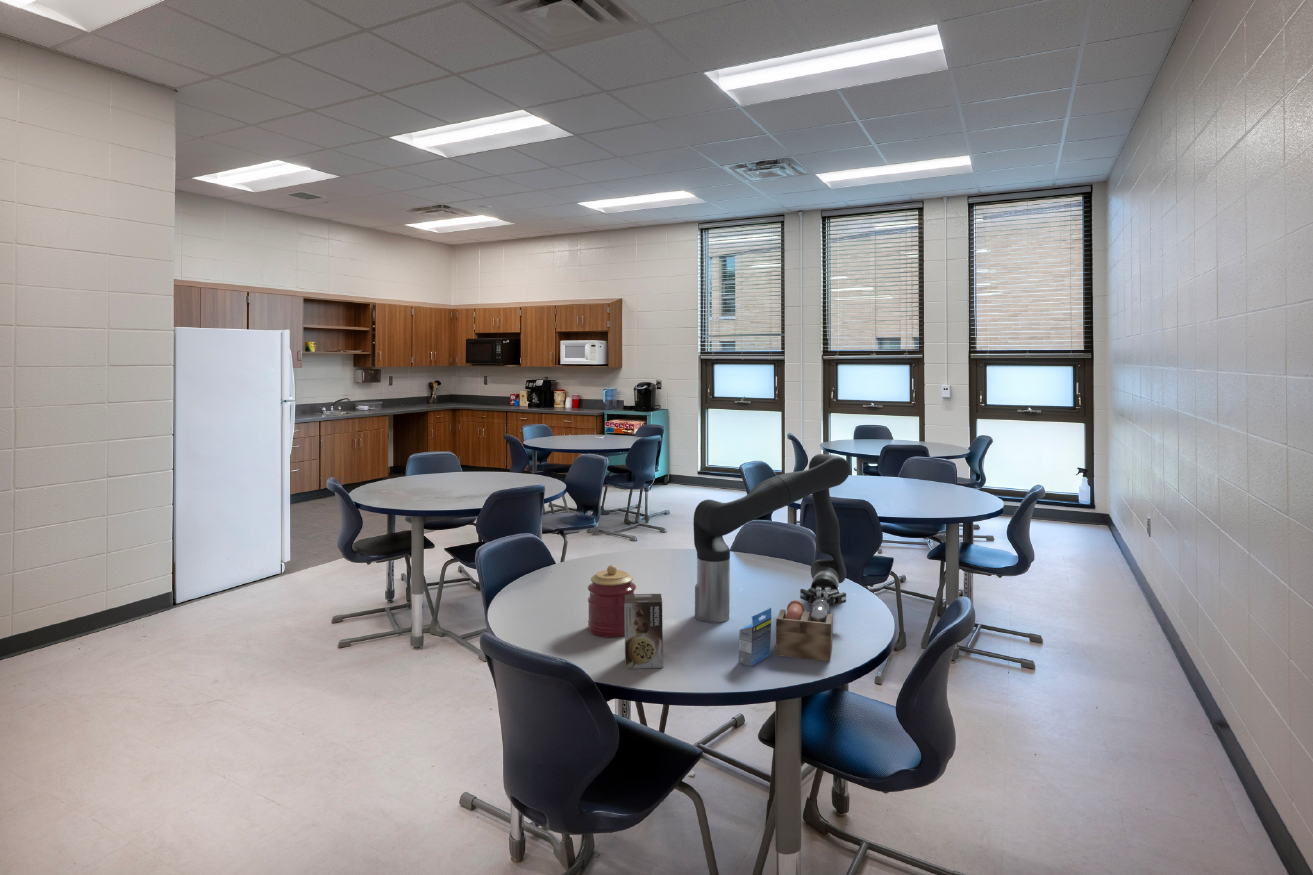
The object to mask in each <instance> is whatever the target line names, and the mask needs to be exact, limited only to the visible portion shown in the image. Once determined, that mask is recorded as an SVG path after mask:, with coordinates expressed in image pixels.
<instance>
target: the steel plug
mask: <svg viewBox="0 0 1313 875" xmlns="http://www.w3.org/2000/svg"><path fill="white" fill-rule="evenodd" d="M829 611H830V604H829V605H828V603H827V602H826V601H824V600H821V599H819V600H816V601H814V602H813V604H811V614H810V621H813V622H823V623H826V620H827V614H829Z"/></svg>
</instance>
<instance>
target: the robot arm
mask: <svg viewBox="0 0 1313 875" xmlns="http://www.w3.org/2000/svg"><path fill="white" fill-rule="evenodd" d="M850 471H851V466H850V464H849V462H848V461H847V460H846V458H844V457H841V456H839V455H834V454H826V453H818V454H815V455H814V456H813V457H812V458H811V459H810V461H809V463H808V469H806V470H805V469H804V470H799V471H793V472H792V471H791V472H786V473H781V474H778V475H775V476H772V477H769V478H767V479H765V480H763V481H761V482H759V483H757V484H756V485H755V486H754V487H753V488H752V489H751V490H750V492H749V493H747V494H746V495H745V496H742V497H740V498H737V499H735V500H732V501H728V502H722V501H718V500H714V499H704V500H702V501H700V502H699V503H698V504H697V506H696V507H695V510H694V513H693V523H692V524H693V542H694V544H693V545H694V548H695V550H696V584H695V585H694V619H695V620H699V621H701V622H706V623H712V624H713V623H723V622H725V621H728V620H729V619H730V610H731V609H730V594H731V593H730V592H731V590H730V587H731V585H730V584H731V581H730V580H731V578H730V576H731V549H730V548H729V546H728V544H727V543H726V542H725V540H724V537H723V536H726V535H729V534H730V533H732V532H734V531H736V530H737V529H739V528H741V527H743V526H745V525H747V524H748V523H750V522H752V521H754V520H756V519H759V518H761V517H763V516H766V515H767V514H770V513H772V512H776V511H779V510H780V509H784V508H785V507H787V506H789V505H792V504H793V503H795V502H798V501H800V500H802V499H804V498H806V497H809V496H812V500H813V507H814V508H813V509H814V514H815V527H816V528H815V532H816V533H815V538H816V539H815V540H816V545H815V546H816V550H817V551H818V552H819V553H822V554H825V555H829V556H831V558H833V559H815V560H814V561H812V563H811V566H810V576H811V578H812V581H811V583H810V584H811V585H810V587H809V588H808V589H804V588H800V590H799V598H800V600H803V601H804V602H807V603H808V604H811V605H812V604H813V602H814V601H816V600H819V599H821V600H824V601H826V602H827V603H828V605H829V607H830V606H831V607H833V606H838V605H841V604H842V605H843V604H845V603H847V592H844V591H843V592H840V591H839V590H840V588H839V586H840V585H839V584H842V583H844V581H846V578H847V569H846V566H845V563H844V559H843V557H842V556H843V555H842V551H841V540H840V539H841V533H840V532H841V529H840V523H839V519H838V516H837V514H836V511H835V509H834V505H833V503H832V499H831V495H830V489H831V488H835V487H838V486H841V485H842V484H843V483H845V482H846V480H847V479H848V477H849V475H850Z"/></svg>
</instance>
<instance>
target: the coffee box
mask: <svg viewBox="0 0 1313 875" xmlns="http://www.w3.org/2000/svg"><path fill="white" fill-rule="evenodd" d="M624 618H625V636H624V663H625V664H624V669H625V670H627V669H628V670H630V669H632V670H633V669H657V668H658V669H663V668H664V641H663V638H664V637H663V632H664V631H663V622H664V620H663V598H662V593H634V594H626V595H625V597H624Z"/></svg>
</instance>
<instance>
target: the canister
mask: <svg viewBox="0 0 1313 875" xmlns="http://www.w3.org/2000/svg"><path fill="white" fill-rule="evenodd" d="M633 580H634V577H633V575H631V574H629V573H628V572H627V571H625V570H621V569H618V568H617V566H615V565H614V564H613V565H612V564H610V565H609V566H607V568H606V569H603V570H600V571H598V572H596V573H595V574H593V575H592V576H591V577H590V581H591V583H589V584H588V586H587V590H588V592H589V596H588V598H587V602H588V619H587V623H588V624H587V626H588V630H589V632H590V633H591V634H592V635H594V636H598V637H601V638H603V637H604V638H618V637H625V618H624V597H625V595H626V594H635V590H636V589H637V586H636V584H635V583H634V582H633Z"/></svg>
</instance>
